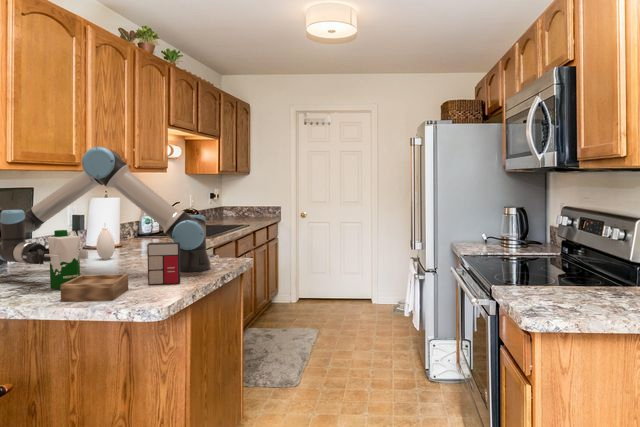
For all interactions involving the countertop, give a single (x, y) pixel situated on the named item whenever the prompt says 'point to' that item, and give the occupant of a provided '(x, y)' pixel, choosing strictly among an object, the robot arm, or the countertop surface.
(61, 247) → the soya milk
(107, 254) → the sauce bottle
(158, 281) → the beige and red box
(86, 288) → the wooden tray
